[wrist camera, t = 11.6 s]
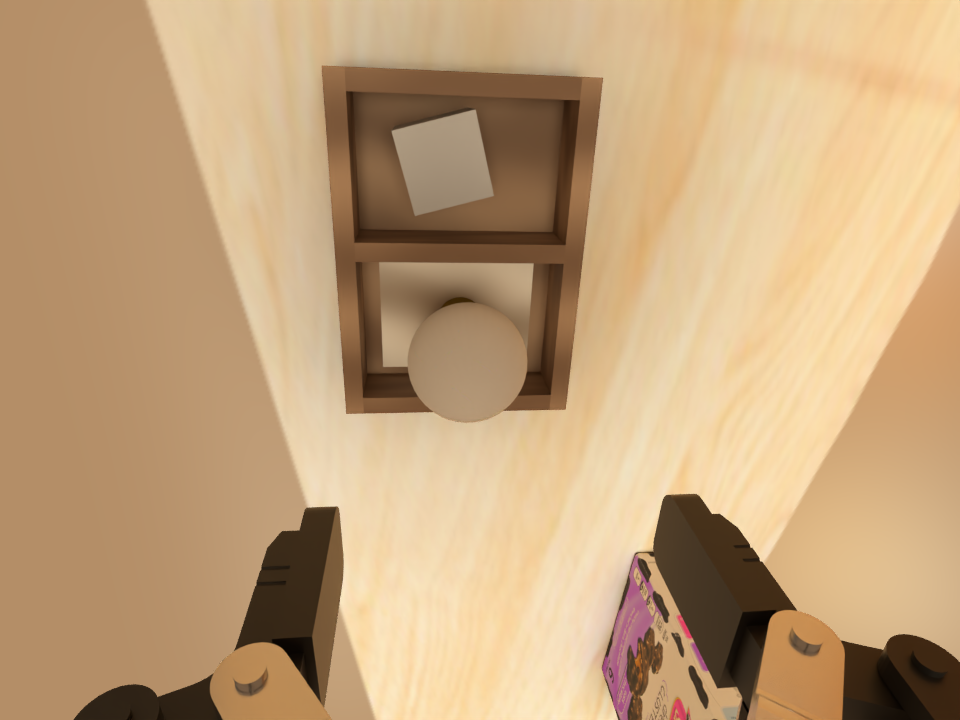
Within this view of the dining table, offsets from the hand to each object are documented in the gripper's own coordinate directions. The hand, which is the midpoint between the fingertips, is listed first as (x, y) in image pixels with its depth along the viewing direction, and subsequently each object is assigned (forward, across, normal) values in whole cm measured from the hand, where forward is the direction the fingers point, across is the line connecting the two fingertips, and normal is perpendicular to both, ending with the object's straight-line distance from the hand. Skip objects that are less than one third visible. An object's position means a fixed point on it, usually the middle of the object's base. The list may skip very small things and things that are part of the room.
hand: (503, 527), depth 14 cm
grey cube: (+22, +1, -6) cm, 23 cm away
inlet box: (+23, 0, -1) cm, 23 cm away
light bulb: (+22, 0, +3) cm, 22 cm away
